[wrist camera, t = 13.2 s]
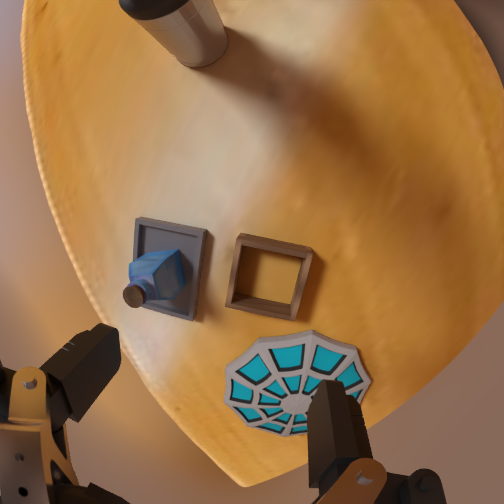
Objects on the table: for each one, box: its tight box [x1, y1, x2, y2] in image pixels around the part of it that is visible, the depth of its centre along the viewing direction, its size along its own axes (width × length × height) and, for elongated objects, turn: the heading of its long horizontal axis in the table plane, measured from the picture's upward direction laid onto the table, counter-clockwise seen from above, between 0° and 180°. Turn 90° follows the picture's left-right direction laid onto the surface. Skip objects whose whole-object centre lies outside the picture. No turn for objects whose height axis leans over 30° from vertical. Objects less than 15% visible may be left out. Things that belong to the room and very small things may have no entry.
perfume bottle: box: [123, 249, 186, 308], centre depth 39 cm, size 6×6×12 cm
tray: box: [133, 217, 207, 321], centre depth 45 cm, size 16×12×2 cm
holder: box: [225, 233, 313, 321], centre depth 42 cm, size 11×11×4 cm
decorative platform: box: [224, 330, 371, 437], centre depth 48 cm, size 31×29×5 cm
